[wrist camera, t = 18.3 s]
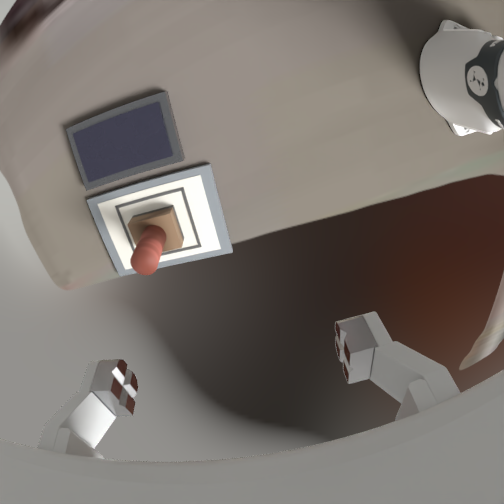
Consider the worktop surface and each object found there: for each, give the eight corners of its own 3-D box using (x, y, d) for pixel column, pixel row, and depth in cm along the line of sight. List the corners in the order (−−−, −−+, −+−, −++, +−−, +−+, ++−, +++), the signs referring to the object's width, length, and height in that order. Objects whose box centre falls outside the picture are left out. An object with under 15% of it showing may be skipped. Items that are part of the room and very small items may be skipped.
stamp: (173, 204, 39) (160, 237, 31) (184, 237, 42) (175, 276, 34) (132, 215, 39) (112, 249, 32) (145, 246, 42) (129, 285, 34)
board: (210, 163, 38) (209, 165, 37) (232, 249, 44) (232, 252, 44) (88, 198, 38) (85, 200, 37) (121, 273, 45) (119, 277, 44)
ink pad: (167, 91, 32) (164, 91, 31) (184, 157, 37) (182, 161, 35) (71, 127, 33) (64, 129, 31) (90, 186, 37) (85, 191, 36)
